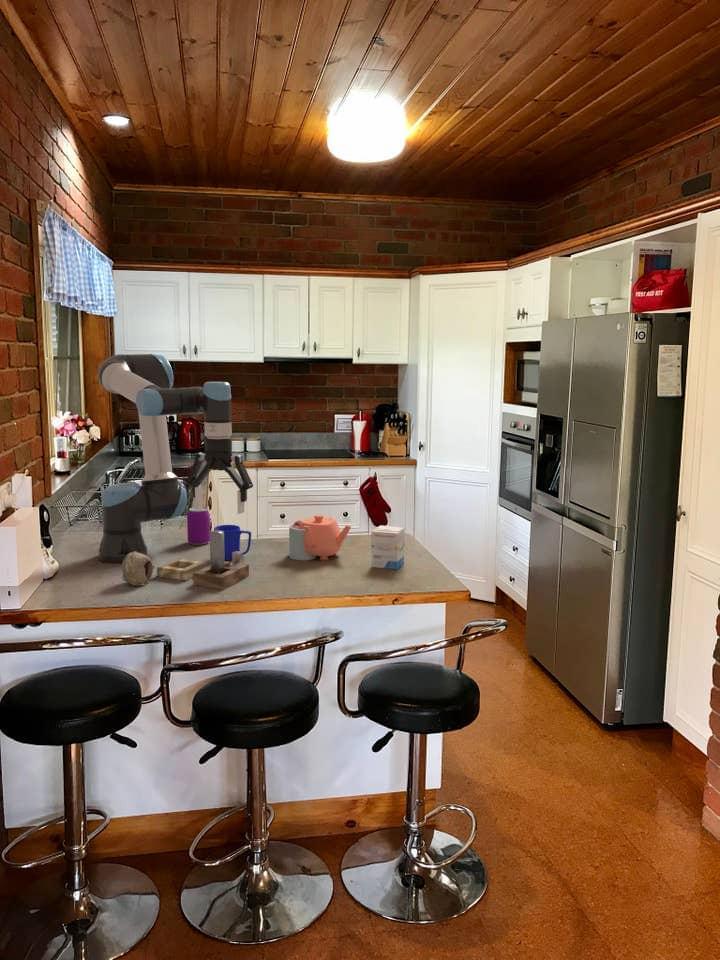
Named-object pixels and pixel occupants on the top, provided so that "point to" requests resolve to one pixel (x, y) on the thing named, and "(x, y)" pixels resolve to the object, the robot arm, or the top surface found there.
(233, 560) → the drift key
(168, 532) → the top surface
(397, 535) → the ink box
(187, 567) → the frame
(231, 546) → the mug
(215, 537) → the peg
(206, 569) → the socket block
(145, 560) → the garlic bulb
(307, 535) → the teapot
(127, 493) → the robot arm
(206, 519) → the beverage can
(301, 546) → the mug
